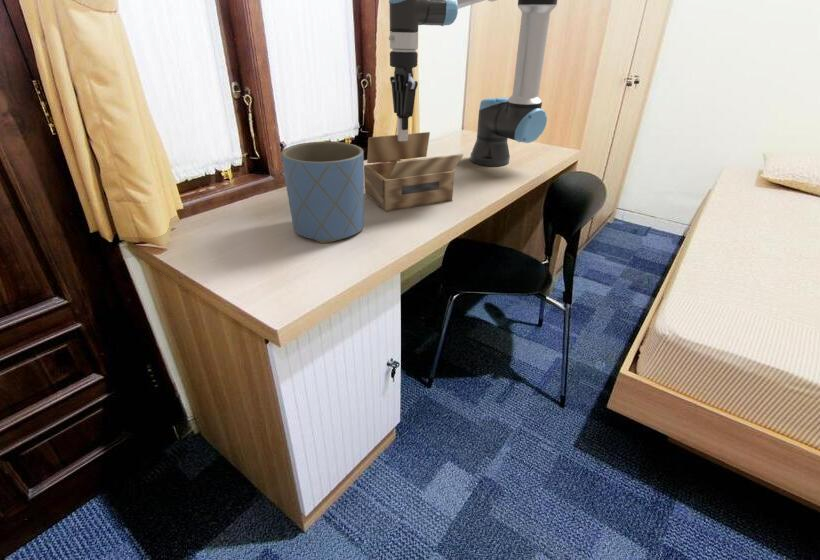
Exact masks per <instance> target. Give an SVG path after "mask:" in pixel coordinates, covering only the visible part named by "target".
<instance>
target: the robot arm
mask: <svg viewBox="0 0 820 560" xmlns="http://www.w3.org/2000/svg"><path fill="white" fill-rule="evenodd" d="M483 1H485V0H388V4H389V5H388V6H389V36H388V40H389V49H391V50H390V52H389V67H391V68H394V72H393V76H390V78H389V80H390V84H391V93H392V104H393V112H394V114H396V116H397V135H398V141H408V134H409V118H411V117H413V114H414V107H415V99H416V93H417V92H416V91H417V87H418V84H419V83H418V82H419V81H417V80H414V71H413V68H416V67H417V66H418V55H419V54H418V53H419V52H417V51H416V50H418V48H419V26H440V27H444V26H451V25H452V24H453V23H455V21H456V19H457V16H458V11H459V9H462V8H465V7H468V6H471V5H475V4H477V3H480V2H483ZM487 1H489V2H496V1H497V0H487ZM557 5H558V0H517V7H518V9H519V10H520V12H521V17H520V26H519V33H518V34H519V36H518V43H517V52H516V53H517V54H516V62H515V70H514V79H513V86H512V87H513V88H512V94H511V96H510V97H509V96H508V97H507V96H505V97H488V98H483V99H482V100H481V101H480V104H479V109H478V119H477V120H478V121H477V131H476V140H475V144H474V145H473V148H472V150H471V153H470V159H469V160H470V162H472V163H474V164H476V165H480V166H486V167H501V166H506V165H508V164H509V163H510V157H511V156H510V155H511V154H510V150H509V143H508V139H509V140H511V141H512V140H513V141H515V142H518V143H523V144H524V143H525V144H530V143H533V142H535V141H536V140H538V139H539V137H540V136H542V134H543V132H544V131H545V128H546V126H547V121H548V116H547V114H546V111H545V110H544V109H542V105H543V100H542V99H541V97H540V96H539V95H540V93H539V92H540V88H541V80H542V74H543V73H542V72H543V67H544V66H543V65H544V59H545V54H546V53H545V51H546V47H547V39H548V32H549V25H550V18H551V13H552V11H553V10H554V9H555V8H556V7H557Z"/></svg>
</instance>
